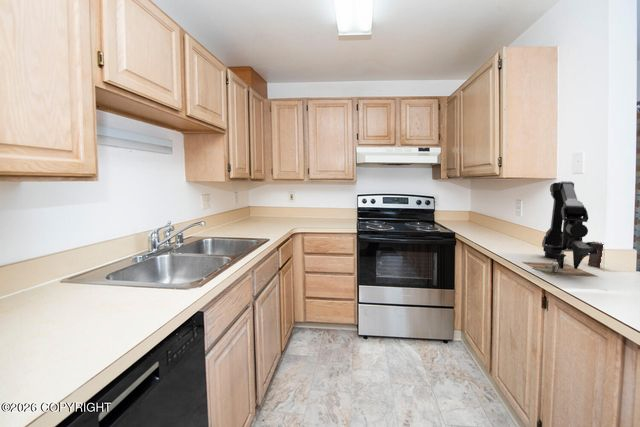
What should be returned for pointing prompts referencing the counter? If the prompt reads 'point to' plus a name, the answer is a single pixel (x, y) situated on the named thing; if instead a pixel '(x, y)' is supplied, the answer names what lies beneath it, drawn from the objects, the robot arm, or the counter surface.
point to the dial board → (566, 270)
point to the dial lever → (554, 266)
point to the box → (596, 256)
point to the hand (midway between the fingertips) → (568, 268)
